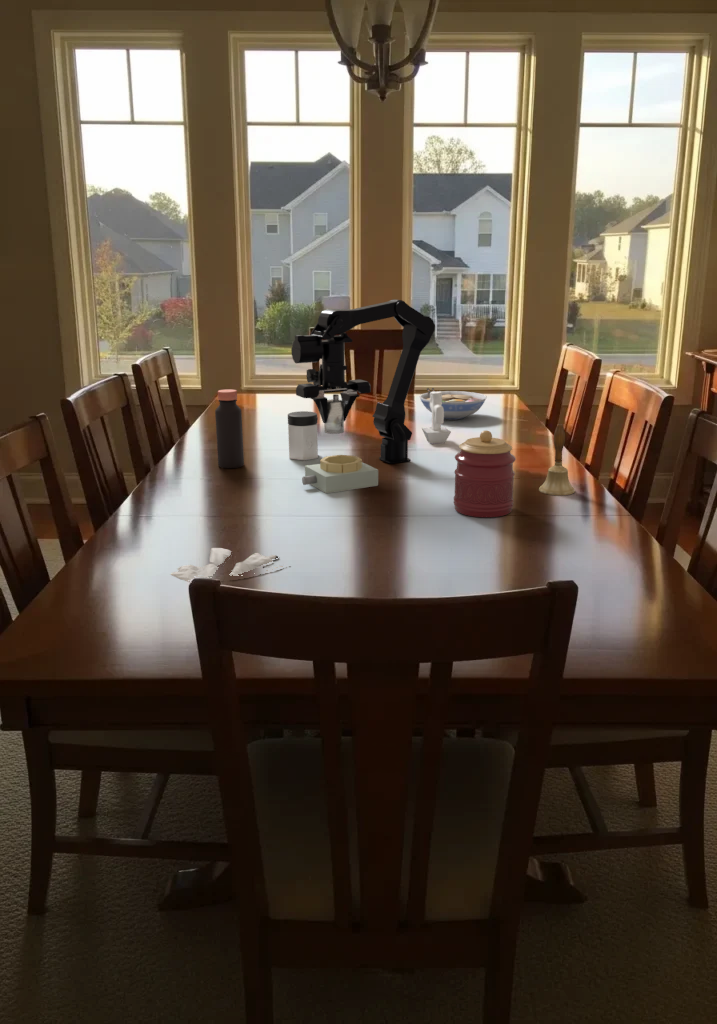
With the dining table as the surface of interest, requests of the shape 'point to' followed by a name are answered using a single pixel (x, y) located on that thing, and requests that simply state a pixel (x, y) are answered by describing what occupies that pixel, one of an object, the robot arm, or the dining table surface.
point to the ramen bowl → (456, 403)
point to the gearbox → (340, 474)
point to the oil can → (335, 416)
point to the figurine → (436, 421)
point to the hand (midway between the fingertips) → (334, 422)
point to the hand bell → (557, 469)
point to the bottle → (229, 430)
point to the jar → (302, 435)
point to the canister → (484, 477)
